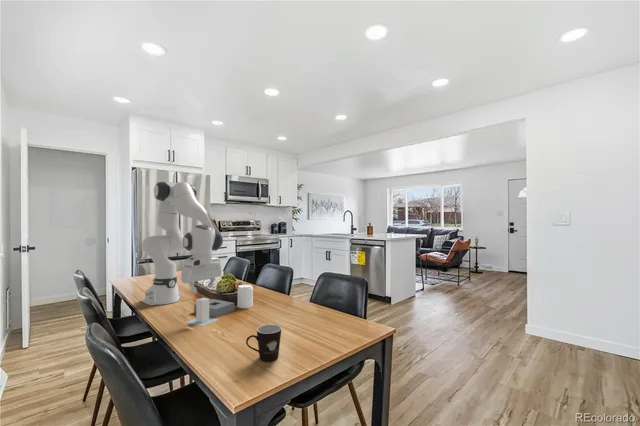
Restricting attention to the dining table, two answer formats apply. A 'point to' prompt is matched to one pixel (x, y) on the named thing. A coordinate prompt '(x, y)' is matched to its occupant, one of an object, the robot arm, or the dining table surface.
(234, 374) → the dining table surface
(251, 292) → the beverage can
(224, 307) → the block
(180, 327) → the dining table surface
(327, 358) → the dining table surface
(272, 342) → the coffee mug
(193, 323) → the mat
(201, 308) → the plug
